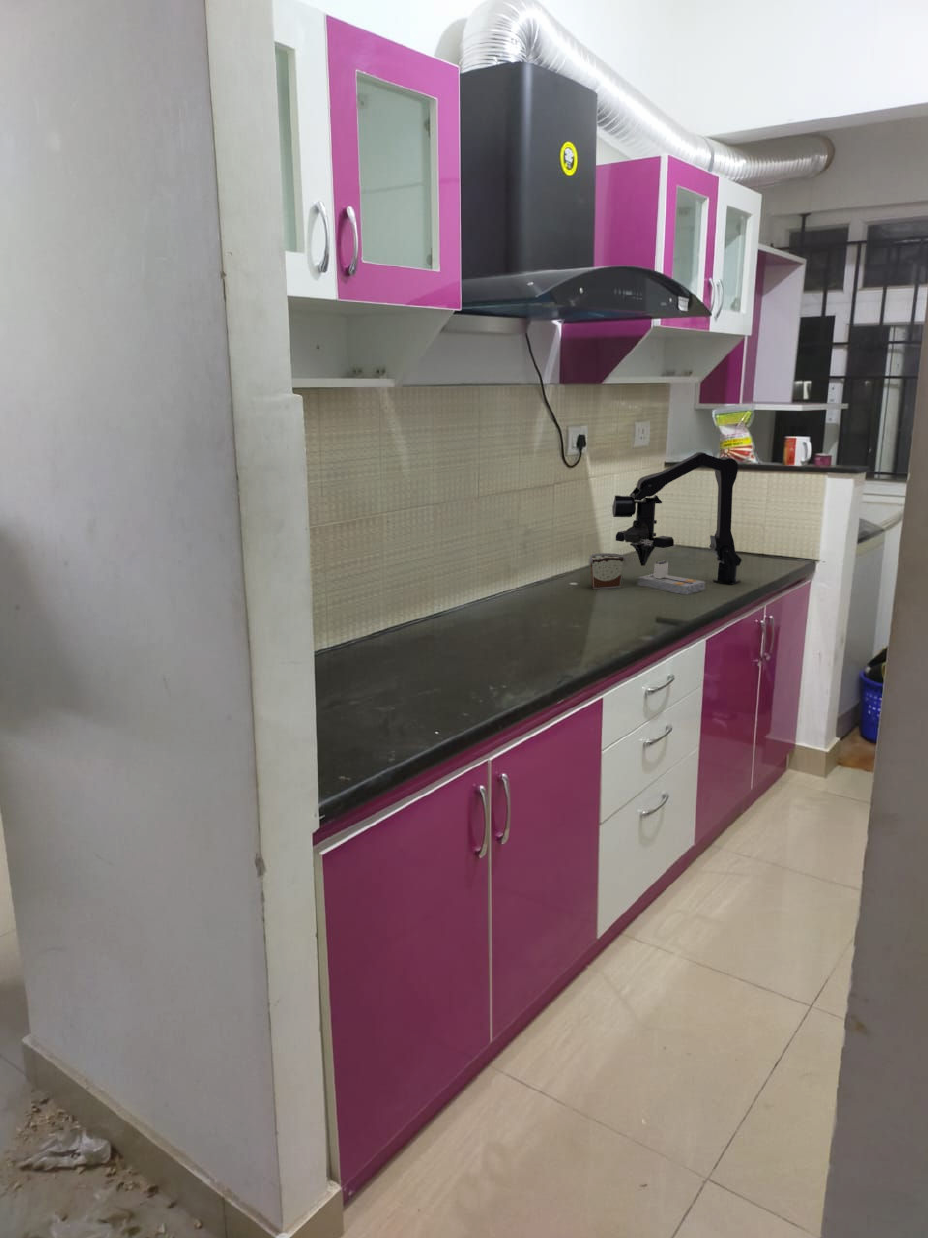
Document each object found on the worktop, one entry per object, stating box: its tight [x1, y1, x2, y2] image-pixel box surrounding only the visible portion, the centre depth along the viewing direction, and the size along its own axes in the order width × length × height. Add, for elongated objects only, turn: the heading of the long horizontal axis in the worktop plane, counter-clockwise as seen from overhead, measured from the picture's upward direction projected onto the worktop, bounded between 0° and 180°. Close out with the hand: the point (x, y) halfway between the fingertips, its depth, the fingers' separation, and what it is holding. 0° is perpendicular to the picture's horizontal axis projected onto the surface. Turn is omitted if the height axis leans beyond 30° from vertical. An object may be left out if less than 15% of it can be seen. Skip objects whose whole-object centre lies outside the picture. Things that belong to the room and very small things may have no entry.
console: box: [637, 573, 706, 596], centre depth 288 cm, size 10×18×3 cm, turn 44°
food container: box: [588, 552, 627, 590], centre depth 289 cm, size 12×6×10 cm, turn 109°
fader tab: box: [653, 559, 669, 579], centre depth 290 cm, size 4×2×5 cm, turn 135°
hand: (642, 565), depth 294 cm, fingers closed
